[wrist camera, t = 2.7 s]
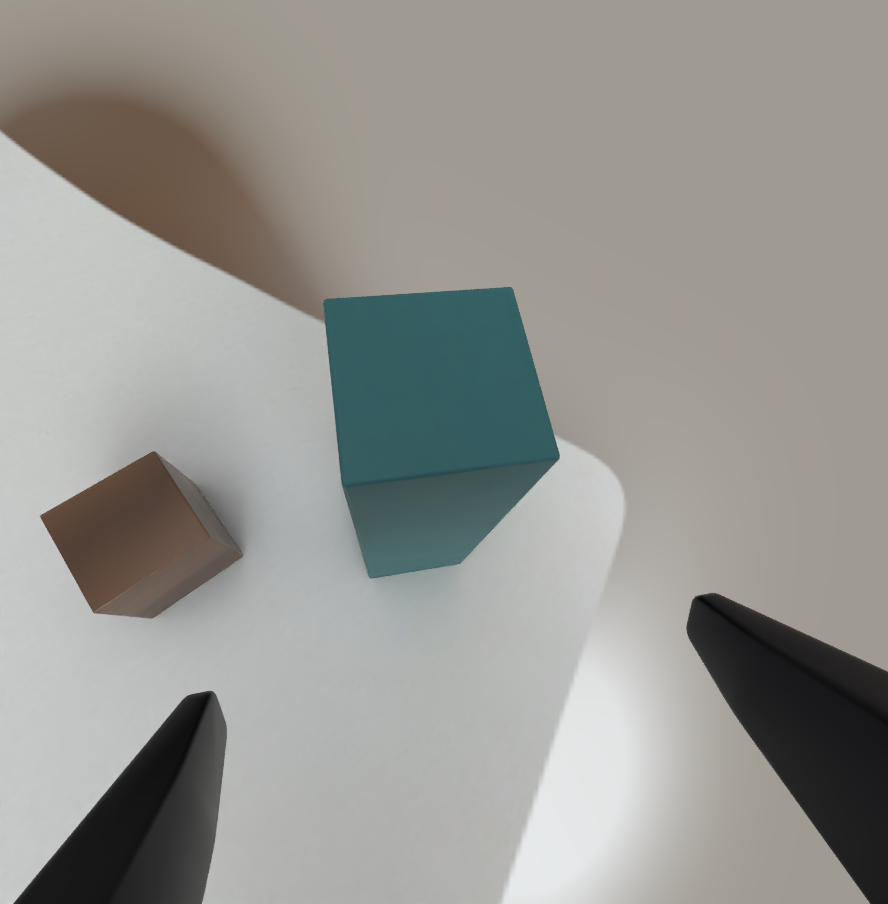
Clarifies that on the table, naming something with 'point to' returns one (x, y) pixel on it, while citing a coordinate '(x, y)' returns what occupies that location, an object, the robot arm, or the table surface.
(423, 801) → the table surface
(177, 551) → the block
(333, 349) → the teal block
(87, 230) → the table surface
